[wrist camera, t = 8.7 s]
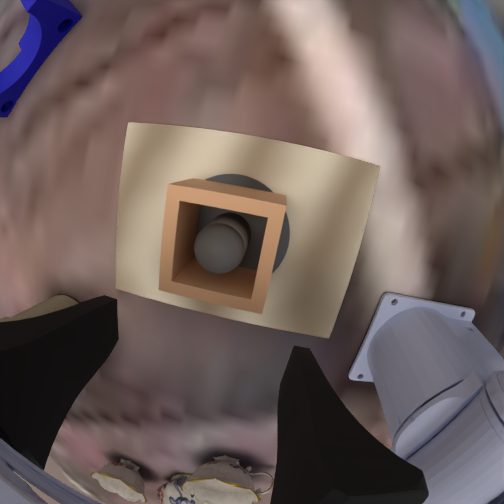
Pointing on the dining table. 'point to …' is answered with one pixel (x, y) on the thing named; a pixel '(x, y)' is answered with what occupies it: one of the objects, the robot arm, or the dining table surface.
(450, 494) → the robot arm
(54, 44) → the cable clip
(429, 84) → the dining table surface
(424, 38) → the dining table surface
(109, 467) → the chinaware
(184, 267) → the collar
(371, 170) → the post plate
